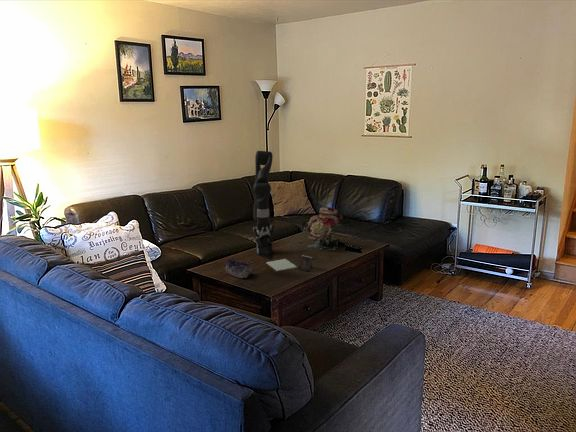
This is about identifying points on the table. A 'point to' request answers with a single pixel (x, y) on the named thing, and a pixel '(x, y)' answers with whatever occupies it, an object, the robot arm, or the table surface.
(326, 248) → the rose bouquet
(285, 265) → the sage mat
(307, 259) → the portable electronic device stand
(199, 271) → the table surface
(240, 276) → the geode
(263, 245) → the black red yellow block
